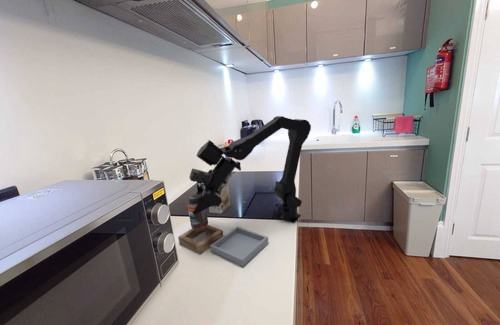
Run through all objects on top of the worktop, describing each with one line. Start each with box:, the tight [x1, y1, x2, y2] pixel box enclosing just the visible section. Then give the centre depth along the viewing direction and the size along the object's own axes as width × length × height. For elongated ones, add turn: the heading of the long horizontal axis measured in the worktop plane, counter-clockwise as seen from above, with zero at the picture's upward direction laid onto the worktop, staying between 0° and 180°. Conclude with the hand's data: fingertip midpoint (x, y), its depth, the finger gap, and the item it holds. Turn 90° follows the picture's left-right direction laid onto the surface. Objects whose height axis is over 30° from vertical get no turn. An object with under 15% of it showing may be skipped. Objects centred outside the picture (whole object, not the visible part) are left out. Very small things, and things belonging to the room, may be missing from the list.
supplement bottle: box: [187, 193, 209, 230], centre depth 78 cm, size 6×6×11 cm
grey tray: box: [209, 226, 269, 268], centre depth 75 cm, size 14×14×2 cm
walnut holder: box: [178, 224, 224, 255], centre depth 81 cm, size 11×11×3 cm
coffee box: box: [208, 178, 231, 214], centre depth 103 cm, size 9×6×16 cm
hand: (193, 209), depth 77 cm, fingers closed on supplement bottle, 6 cm apart
